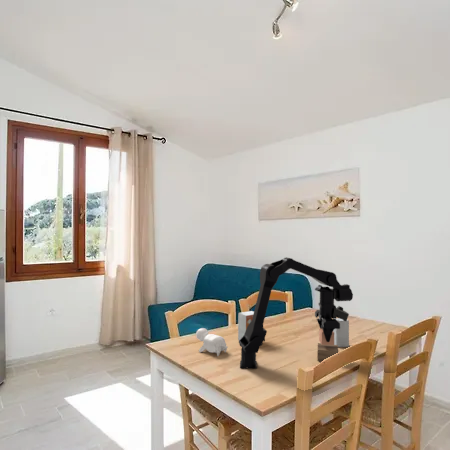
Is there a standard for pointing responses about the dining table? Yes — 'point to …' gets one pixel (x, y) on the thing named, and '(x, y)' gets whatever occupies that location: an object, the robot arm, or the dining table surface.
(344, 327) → the skincare box
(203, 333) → the white animal figurine
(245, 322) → the small box
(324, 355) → the walnut block
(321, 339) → the terracotta cube
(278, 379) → the dining table surface
